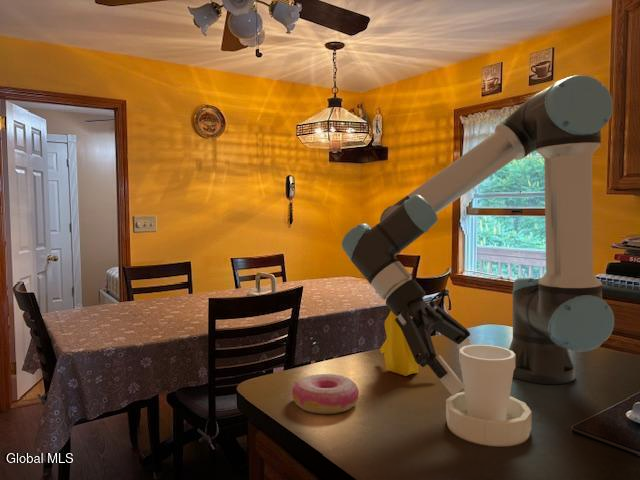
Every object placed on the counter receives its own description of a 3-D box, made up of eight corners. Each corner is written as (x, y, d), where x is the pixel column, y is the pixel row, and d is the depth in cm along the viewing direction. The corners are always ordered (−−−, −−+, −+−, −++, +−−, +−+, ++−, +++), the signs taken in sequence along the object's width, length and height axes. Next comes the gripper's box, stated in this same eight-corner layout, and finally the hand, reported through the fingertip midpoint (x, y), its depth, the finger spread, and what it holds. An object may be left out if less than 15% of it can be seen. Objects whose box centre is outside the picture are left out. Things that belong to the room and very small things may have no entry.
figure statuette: (442, 378, 111) (442, 284, 109) (421, 386, 106) (421, 288, 104) (386, 360, 124) (385, 277, 123) (364, 367, 119) (364, 280, 118)
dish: (517, 412, 91) (517, 392, 91) (540, 448, 77) (541, 424, 77) (442, 409, 93) (442, 389, 93) (452, 444, 79) (452, 421, 79)
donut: (369, 414, 92) (368, 389, 92) (302, 423, 88) (302, 397, 88) (345, 389, 105) (345, 367, 105) (286, 397, 101) (286, 374, 101)
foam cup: (519, 437, 80) (520, 361, 79) (462, 433, 81) (462, 359, 81) (507, 413, 89) (508, 345, 88) (456, 410, 91) (457, 343, 90)
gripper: (414, 292, 106) (480, 372, 98) (353, 312, 86) (430, 414, 78) (436, 270, 102) (507, 351, 94) (379, 286, 82) (462, 389, 74)
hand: (473, 379), depth 86 cm, fingers open, 13 cm apart
